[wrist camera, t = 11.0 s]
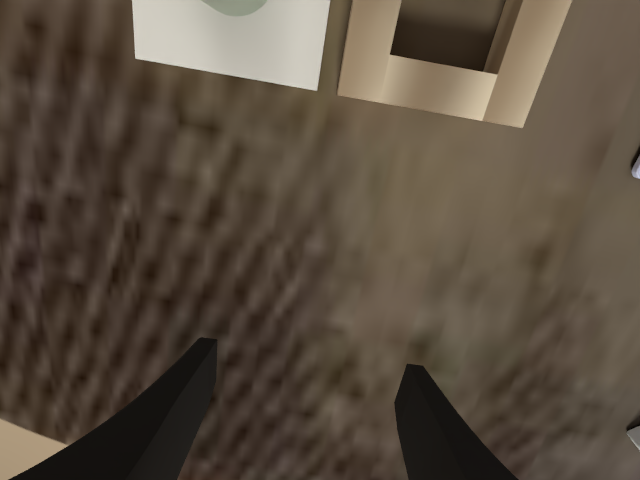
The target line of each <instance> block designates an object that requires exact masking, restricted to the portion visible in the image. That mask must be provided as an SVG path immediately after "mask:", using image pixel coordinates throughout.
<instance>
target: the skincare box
mask: <svg viewBox="0 0 640 480" xmlns="http://www.w3.org/2000/svg"><path fill="white" fill-rule="evenodd" d="M627 434H628V436H629V437H630V438H631V439H632V441H633V442H634V444H635V445H636V447H637V448H638V449H639V450H640V426H638V427H635V428H633V429H631V430H629V431H627Z"/></svg>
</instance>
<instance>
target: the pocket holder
mask: <svg viewBox="0 0 640 480" xmlns="http://www.w3.org/2000/svg"><path fill="white" fill-rule="evenodd" d="M401 1H402V0H352V5H351V10H350V16H349V22H348V28H347V34H346V40H345V46H344V52H343V58H342V64H341V70H340V76H339V82H338V88H337V95H340V96H346V97H351V98H357V99H363V100H368V101H374V102H379V103H385V104H391V105H396V106H402V107H407V108H413V109H419V110H424V111H430V112H436V113H441V114H447V115H452V116H458V117H464V118H469V119H475V120H480V121H486V122H492V123H497V124H503V125H508V126H514V127H520V128H523V125H524V123H525V120H526V118H527V115H528V112H529V110H530V107H531V105H532V102H533V100H534V97H535V94H536V92H537V89H538V87H539V84H540V82H541V79H542V76H543V74H544V71H545V69H546V66H547V64H548V61H549V59H550V56H551V53H552V51H553V48H554V46H555V43H556V41H557V38H558V35H559V33H560V30H561V28H562V25H563V23H564V20H565V17H566V15H567V12H568V10H569V7H570V5H571V2H572V0H506V2H505V5H504V8H503V11H502V14H501V17H500V20H499V23H498V26H497V29H496V33H495V36H494V39H493V42H492V45H491V48H490V51H489V54H488V57H487V60H486V64H485V67H484V70H483V72H480V71H475V70H469V69H464V68H459V67H453V66H448V65H442V64H437V63H432V62H426V61H421V60H415V59H410V58H405V57H399V56H394V55H390V51H391V46H392V42H393V37H394V33H395V28H396V24H397V19H398V14H399V10H400V5H401Z"/></svg>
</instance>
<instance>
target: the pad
mask: <svg viewBox="0 0 640 480" xmlns="http://www.w3.org/2000/svg"><path fill="white" fill-rule="evenodd" d="M132 3H133V22H134V41H135V58H136V59H141V60H147V61H153V62H158V63H164V64H169V65H175V66H181V67H186V68H192V69H198V70H203V71H209V72H214V73H220V74H226V75H231V76H237V77H242V78H248V79H254V80H259V81H265V82H270V83H276V84H282V85H287V86H293V87H298V88H304V89H310V90H315V91H317V89H318V82H319V75H320V68H321V61H322V54H323V48H324V41H325V34H326V27H327V20H328V14H329V7H330V0H267V1H266V3H265V4H264V5H263V6H262V7H261V8H259V9H258V10H257V11H255V12H253V13H251V14H249V15H245V16H229V15H225V14H223V13H220V12H218V11H217V10H215V9H213V8H212V7H210V6H209V5H207V4H206V3H204V2H203V1H201V0H132Z"/></svg>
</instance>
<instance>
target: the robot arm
mask: <svg viewBox="0 0 640 480" xmlns="http://www.w3.org/2000/svg"><path fill="white" fill-rule="evenodd" d="M632 175H633V176H634V177H636V178H638V179H640V155H639V157H638V159H637V161H636V163H635V165H634V166H633V169H632ZM216 366H217V339H210V338H202V337H201V338H199V339H198V340H197V341H196V342H195V343H194V344H193V345H192V346H191V347H190V348H189V349H188V350H187V351H186V352H185V354H184V355H183V356H182V357H181V358H180V359H179V360H178V361H177V362H176V363H175V364H174V365H172V366H171V367H170V368H169V369H168V370H167V371H166V372H165V373H164V374H163V375H162V376H161V377H160V378H159V379H158V380H157V381H155V382H154V383H153V384H152V385H151V386H150V387H148V388H147V389H146V390H145V391H144V392H143V393H141V394H140V395H139V396H138V397H137V398H136V399H134V400H133V401H132V402H131V403H129V404H128V405H127V406H126V407H124V408H123V409H122V410H120V411H119V412H118V413H116V414H115V415H114V416H112V417H111V418H110V419H108V420H107V421H105V422H104V423H102V424H101V425H100V426H98V427H97V428H95V429H94V430H92V431H91V432H89V433H88V434H86V435H85V436H83V437H82V438H80V439H79V440H77V441H76V442H74V443H73V444H71V445H69V446H68V447H66V448H64V449H63V450H61V451H59V452H57V453H56V454H54V455H53V456H51V457H49V458H48V459H46V460H44V461H42V462H41V463H39V464H37V465H35V466H34V467H32V468H30V469H28V470H26V471H24V472H23V473H20V474H18V475H17V476H15V477H13V478H11V479H9V480H177V478H178V476H179V473H180V471H181V468H182V466H183V464H184V461H185V459H186V457H187V454H188V452H189V450H190V447H191V445H192V443H193V441H194V438H195V436H196V434H197V431H198V429H199V427H200V424H201V422H202V420H203V417H204V415H205V413H206V410H207V408H208V405H209V402H210V399H211V395H212V392H213V389H214V385H215V382H216ZM395 412H396V421H397V430H398V434H399V439H400V443H401V448H402V452H403V457H404V461H405V465H406V469H407V474H408V478H409V480H518V479H517V478H516V477H515V476H514V475H513V474H512V473H511V472H510V471H509V470H508V469H507V468H506V467H505V466H504V465H503V464H502V463H501V462H500V461H499V460H498V459H497V458H496V457H495V456H494V455H493V454H492V453H491V451H490V450H489V449H488V448H487V447H486V446H485V445H484V444H483V443H482V442H481V440H480V439H479V438H478V437H477V436H476V435H475V433H474V432H473V431H472V430H471V429H470V428H469V426H468V425H467V424H466V423H465V421H464V420H463V419H462V418H461V416H460V415H459V414H458V413H457V411H456V410H455V409H454V407H453V406H452V405H451V404H450V402H449V401H448V400H447V398H446V397H445V396H444V394H443V393H442V391H441V390H440V389H439V387H438V386H437V385H436V383H435V382H434V380H433V379H432V378H431V376H430V375H429V374H428V372H427V371H426V369H425V368H424V367H423V366H420V365H413V364H407V366H406V369H405V372H404V375H403V378H402V381H401V384H400V387H399V390H398V393H397V396H396V399H395Z"/></svg>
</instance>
